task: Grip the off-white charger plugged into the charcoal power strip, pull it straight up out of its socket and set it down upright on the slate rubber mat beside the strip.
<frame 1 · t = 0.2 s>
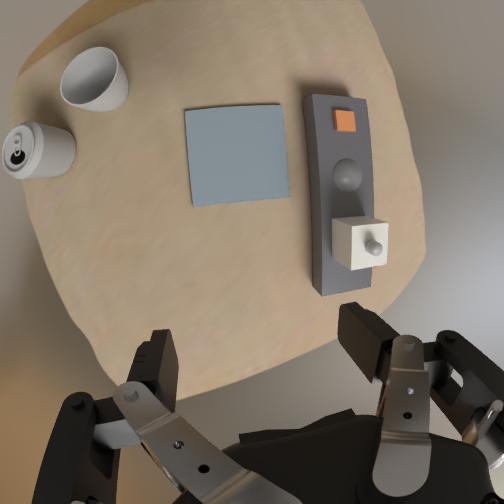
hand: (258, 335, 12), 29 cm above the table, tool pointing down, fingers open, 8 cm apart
can: (59, 153, 32), on the table
cup: (113, 95, 32), on the table
charger: (343, 233, 41), point 2 cm above the table, touching power strip
mat: (237, 153, 37), on the table
power strip: (336, 193, 41), on the table
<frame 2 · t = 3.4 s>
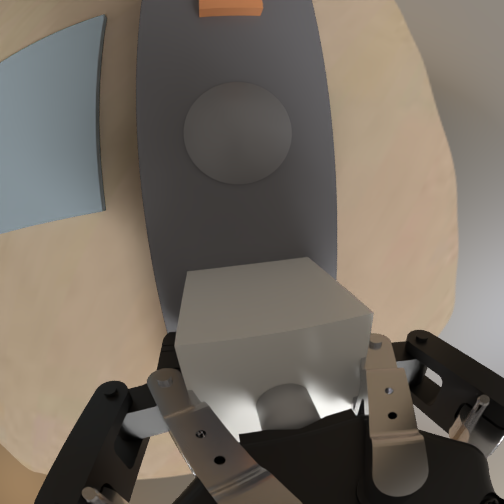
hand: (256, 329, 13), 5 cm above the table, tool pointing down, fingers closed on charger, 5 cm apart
charger: (248, 302, 15), point 2 cm above the table, touching gripper, power strip
mat: (18, 130, 12), on the table
power strip: (235, 192, 16), on the table
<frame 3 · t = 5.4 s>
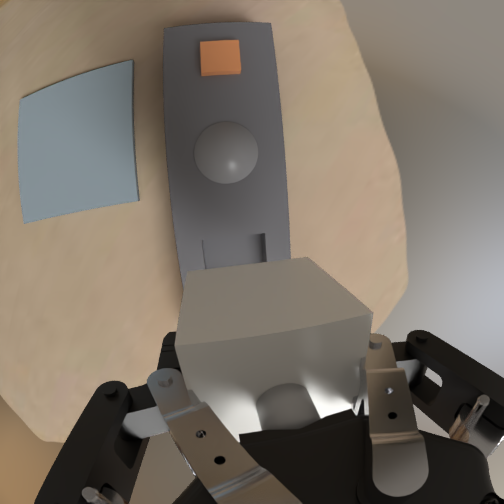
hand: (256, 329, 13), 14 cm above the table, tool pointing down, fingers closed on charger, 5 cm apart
charger: (248, 302, 15), point 11 cm above the table, touching gripper
mat: (69, 142, 20), on the table
power strip: (226, 189, 24), on the table
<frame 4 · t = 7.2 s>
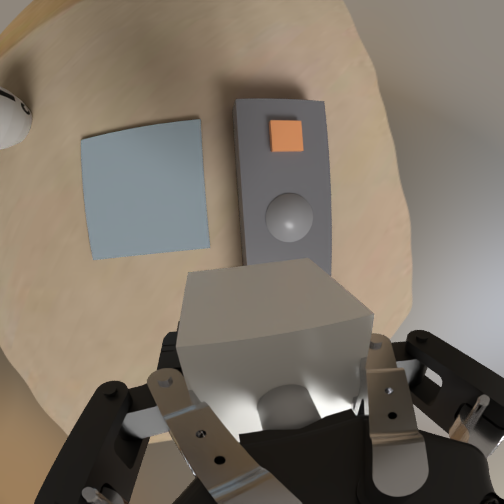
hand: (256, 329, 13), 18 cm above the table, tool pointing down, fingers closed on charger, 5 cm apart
cup: (19, 126, 22), on the table
charger: (248, 302, 15), point 16 cm above the table, touching gripper
mat: (141, 190, 27), on the table
power strip: (280, 239, 31), on the table
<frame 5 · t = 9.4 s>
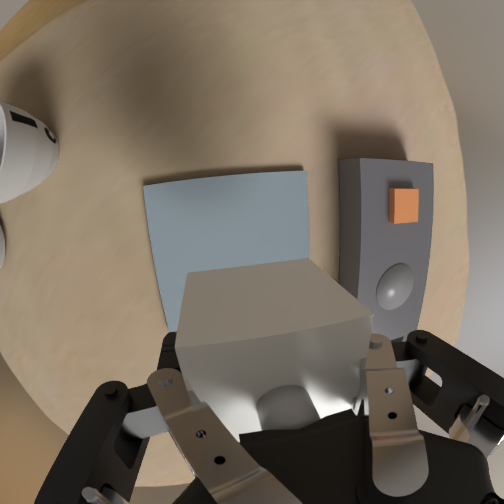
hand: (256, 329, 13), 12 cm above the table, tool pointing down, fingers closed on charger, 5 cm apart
cup: (41, 156, 19), on the table
charger: (248, 303, 15), point 10 cm above the table, touching gripper
mat: (232, 254, 24), on the table
power strip: (372, 298, 28), on the table
when the fingers open (4 cm above the table, at t = 11.3 s): charger stays where it is, resting on mat.
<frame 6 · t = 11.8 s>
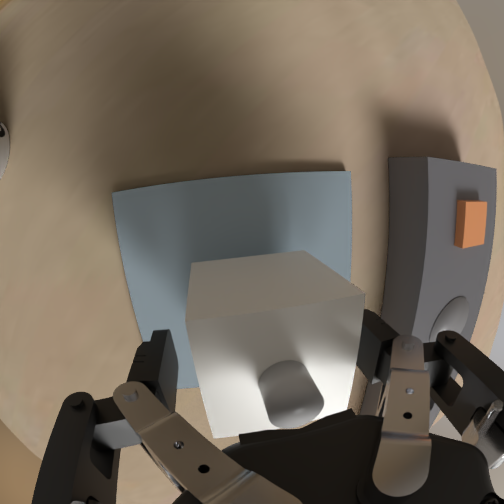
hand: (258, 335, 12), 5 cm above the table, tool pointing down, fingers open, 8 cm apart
charger: (247, 294, 16), point 1 cm above the table, touching mat
mat: (244, 291, 17), on the table
power strip: (414, 333, 21), on the table
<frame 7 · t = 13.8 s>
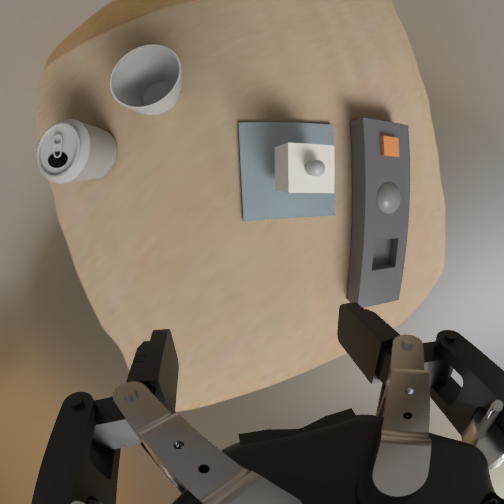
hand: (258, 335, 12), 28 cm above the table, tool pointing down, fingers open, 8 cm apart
can: (96, 154, 33), on the table
cup: (159, 97, 32), on the table
charger: (291, 169, 37), point 1 cm above the table, touching mat
mat: (288, 169, 38), on the table
power strip: (374, 213, 42), on the table
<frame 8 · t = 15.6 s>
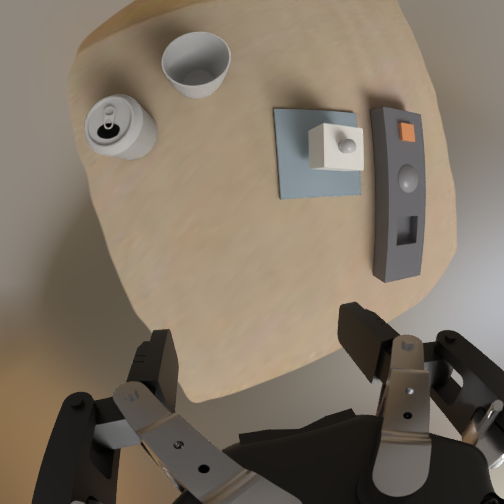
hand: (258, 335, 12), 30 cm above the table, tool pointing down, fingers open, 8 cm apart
can: (135, 136, 35), on the table
cup: (198, 84, 35), on the table
charger: (322, 152, 39), point 1 cm above the table, touching mat
mat: (319, 152, 40), on the table
power strip: (394, 193, 44), on the table
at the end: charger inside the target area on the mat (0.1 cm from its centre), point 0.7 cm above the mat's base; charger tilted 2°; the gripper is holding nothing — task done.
